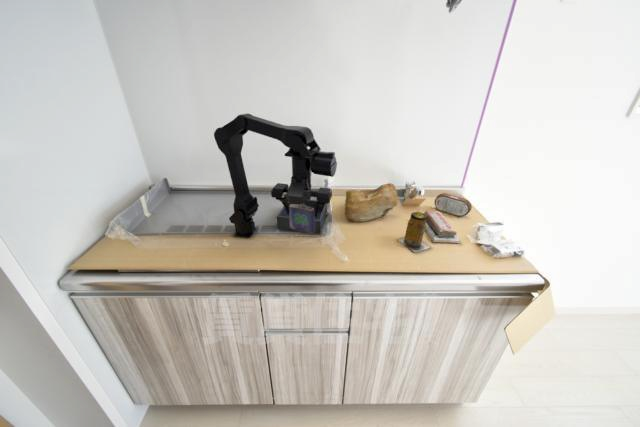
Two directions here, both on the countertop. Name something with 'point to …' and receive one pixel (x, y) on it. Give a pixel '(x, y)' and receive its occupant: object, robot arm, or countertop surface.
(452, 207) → the tin
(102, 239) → the countertop surface
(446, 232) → the packaged product
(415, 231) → the condiment
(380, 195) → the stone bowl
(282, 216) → the bin
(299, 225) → the flask
